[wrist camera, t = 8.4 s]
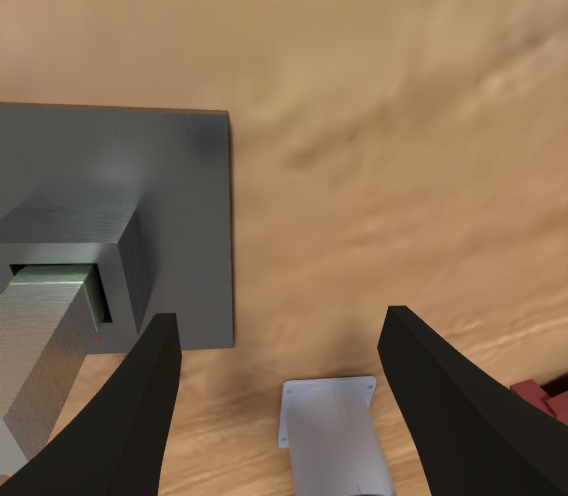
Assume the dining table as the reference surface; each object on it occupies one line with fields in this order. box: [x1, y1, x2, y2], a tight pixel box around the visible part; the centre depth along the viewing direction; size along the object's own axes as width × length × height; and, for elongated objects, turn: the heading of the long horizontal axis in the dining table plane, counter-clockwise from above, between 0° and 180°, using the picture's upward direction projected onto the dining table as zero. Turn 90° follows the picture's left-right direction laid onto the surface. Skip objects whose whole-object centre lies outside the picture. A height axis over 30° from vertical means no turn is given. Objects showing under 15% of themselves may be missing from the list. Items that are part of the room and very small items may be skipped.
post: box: [0, 265, 106, 474], centre depth 15 cm, size 3×3×8 cm
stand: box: [0, 102, 233, 354], centre depth 19 cm, size 16×16×4 cm
